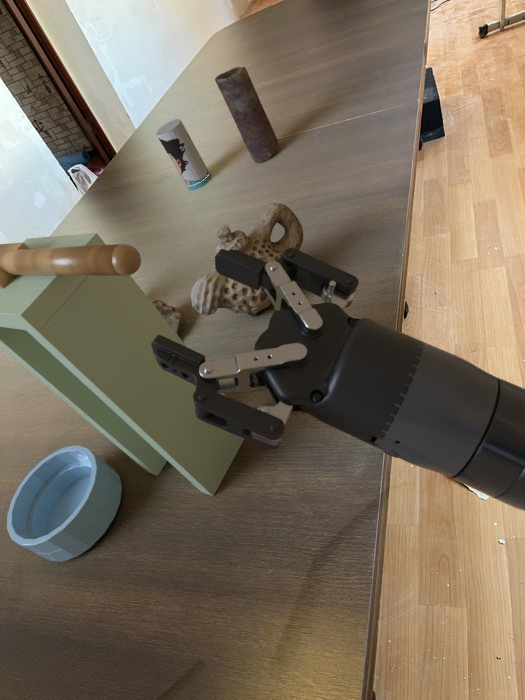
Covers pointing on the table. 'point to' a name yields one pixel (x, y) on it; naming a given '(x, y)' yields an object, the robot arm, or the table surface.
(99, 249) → the wooden tool
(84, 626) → the table surface
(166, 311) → the decorative stone
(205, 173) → the grey printed cylinder
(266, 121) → the dark brown cylinder
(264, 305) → the teapot
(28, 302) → the stand
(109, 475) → the bowl
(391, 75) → the table surface
